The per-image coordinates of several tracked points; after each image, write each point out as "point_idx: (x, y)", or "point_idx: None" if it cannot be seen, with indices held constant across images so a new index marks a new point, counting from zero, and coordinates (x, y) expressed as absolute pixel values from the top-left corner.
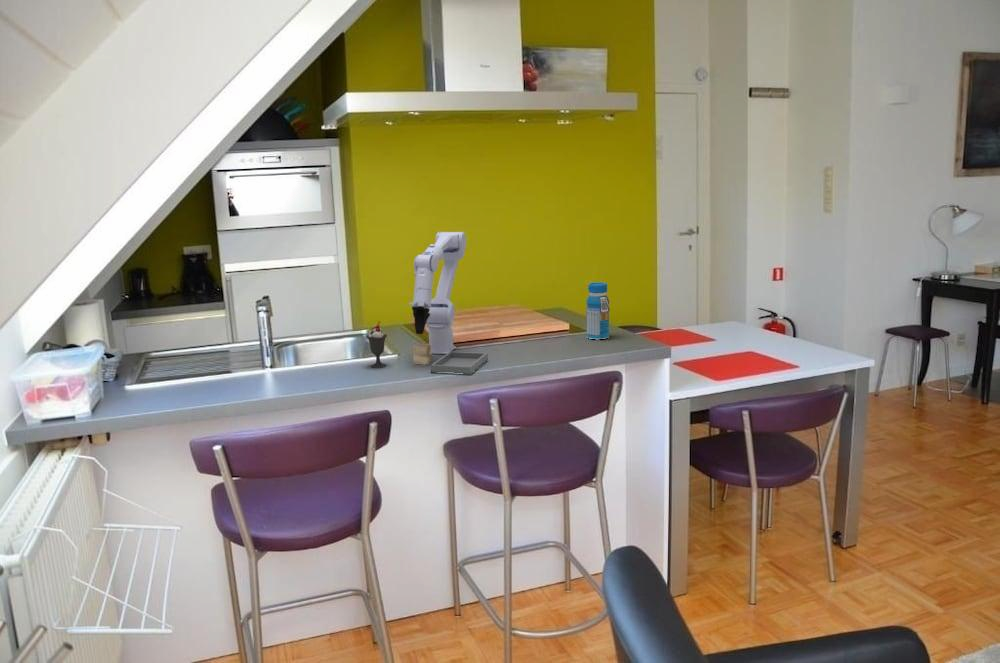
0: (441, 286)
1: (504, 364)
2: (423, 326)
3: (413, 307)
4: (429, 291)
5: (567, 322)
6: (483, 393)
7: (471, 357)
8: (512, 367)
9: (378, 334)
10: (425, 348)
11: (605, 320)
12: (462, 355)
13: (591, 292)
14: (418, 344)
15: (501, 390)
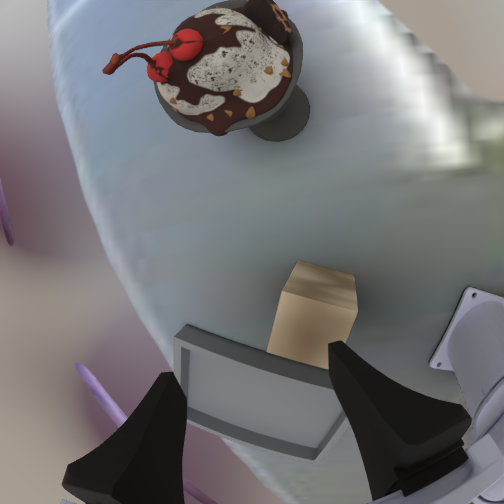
0: None
1: (279, 464)
2: (182, 424)
3: (63, 479)
4: None
5: None
6: (98, 389)
7: (330, 431)
8: (254, 467)
9: (160, 90)
10: (268, 346)
11: None
12: (341, 418)
13: None
14: (334, 315)
15: (118, 413)
